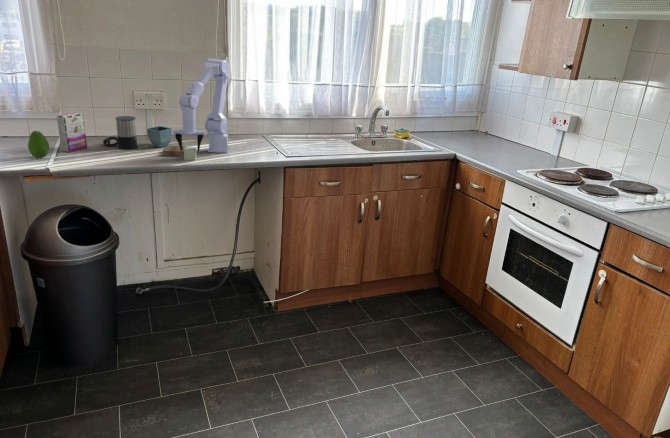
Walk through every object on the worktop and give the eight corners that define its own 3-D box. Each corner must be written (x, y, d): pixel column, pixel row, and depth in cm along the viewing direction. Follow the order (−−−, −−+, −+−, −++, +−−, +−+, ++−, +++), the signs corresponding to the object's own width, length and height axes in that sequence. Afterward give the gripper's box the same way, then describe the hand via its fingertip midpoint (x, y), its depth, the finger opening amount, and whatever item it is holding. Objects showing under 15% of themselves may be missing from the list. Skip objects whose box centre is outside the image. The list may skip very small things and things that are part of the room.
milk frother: (138, 150, 245) (136, 119, 239) (102, 150, 239) (99, 119, 234) (137, 143, 257) (135, 113, 252) (103, 143, 251) (100, 113, 246)
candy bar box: (79, 146, 243) (75, 112, 237) (87, 147, 242) (83, 113, 236) (60, 151, 233) (55, 115, 227) (69, 152, 232) (64, 117, 226)
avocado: (28, 160, 217) (23, 132, 212) (32, 155, 224) (28, 128, 219) (48, 160, 219) (44, 132, 215) (52, 155, 226) (49, 128, 222)
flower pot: (147, 146, 253) (146, 128, 250) (160, 143, 260) (159, 125, 257) (160, 149, 249) (159, 131, 246) (173, 146, 257) (172, 128, 253)
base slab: (187, 151, 249) (186, 146, 248) (184, 156, 240) (184, 151, 239) (165, 150, 247) (165, 145, 246) (162, 155, 238) (162, 150, 237)
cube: (196, 157, 240) (196, 147, 238) (195, 160, 236) (195, 149, 234) (185, 157, 239) (185, 146, 238) (184, 160, 235) (183, 149, 233)
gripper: (171, 122, 226) (172, 151, 231) (204, 123, 229) (205, 153, 234) (173, 119, 233) (174, 148, 238) (205, 120, 235) (206, 149, 240)
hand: (190, 150), depth 236 cm, fingers open, 7 cm apart
